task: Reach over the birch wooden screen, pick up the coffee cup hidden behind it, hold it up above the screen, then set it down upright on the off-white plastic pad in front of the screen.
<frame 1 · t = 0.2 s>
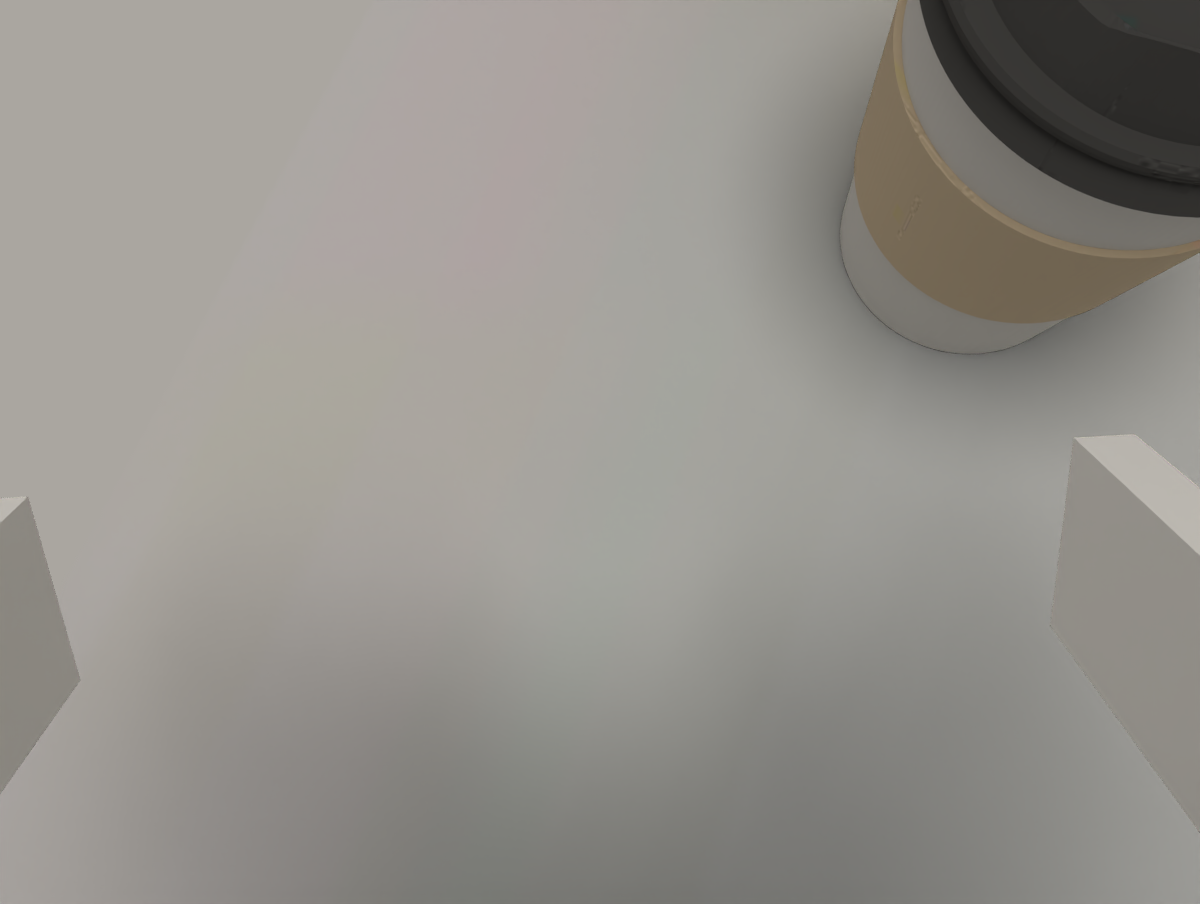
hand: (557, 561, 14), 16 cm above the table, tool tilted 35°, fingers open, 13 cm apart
coffee cup: (960, 242, 32), on the table
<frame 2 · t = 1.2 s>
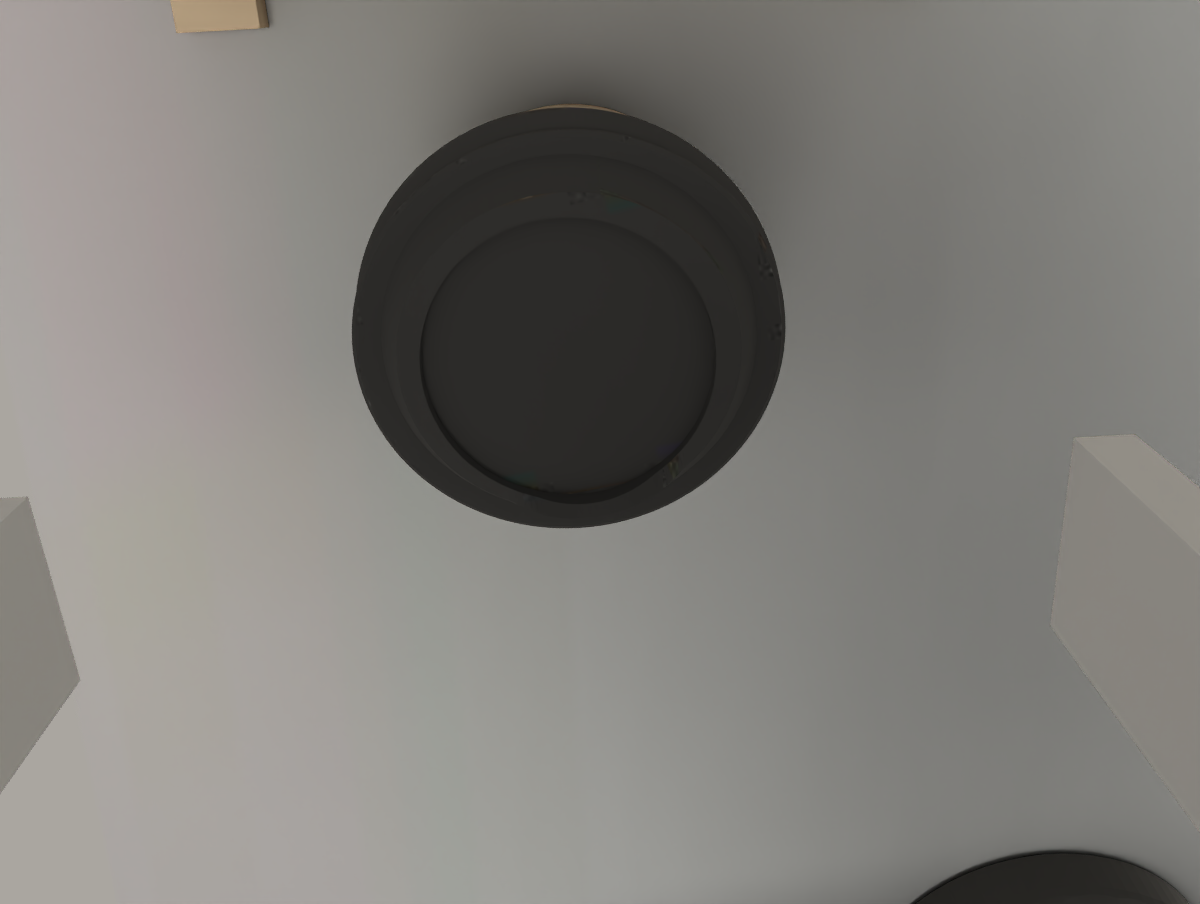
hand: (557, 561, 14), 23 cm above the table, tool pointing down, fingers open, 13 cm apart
coffee cup: (573, 214, 35), on the table
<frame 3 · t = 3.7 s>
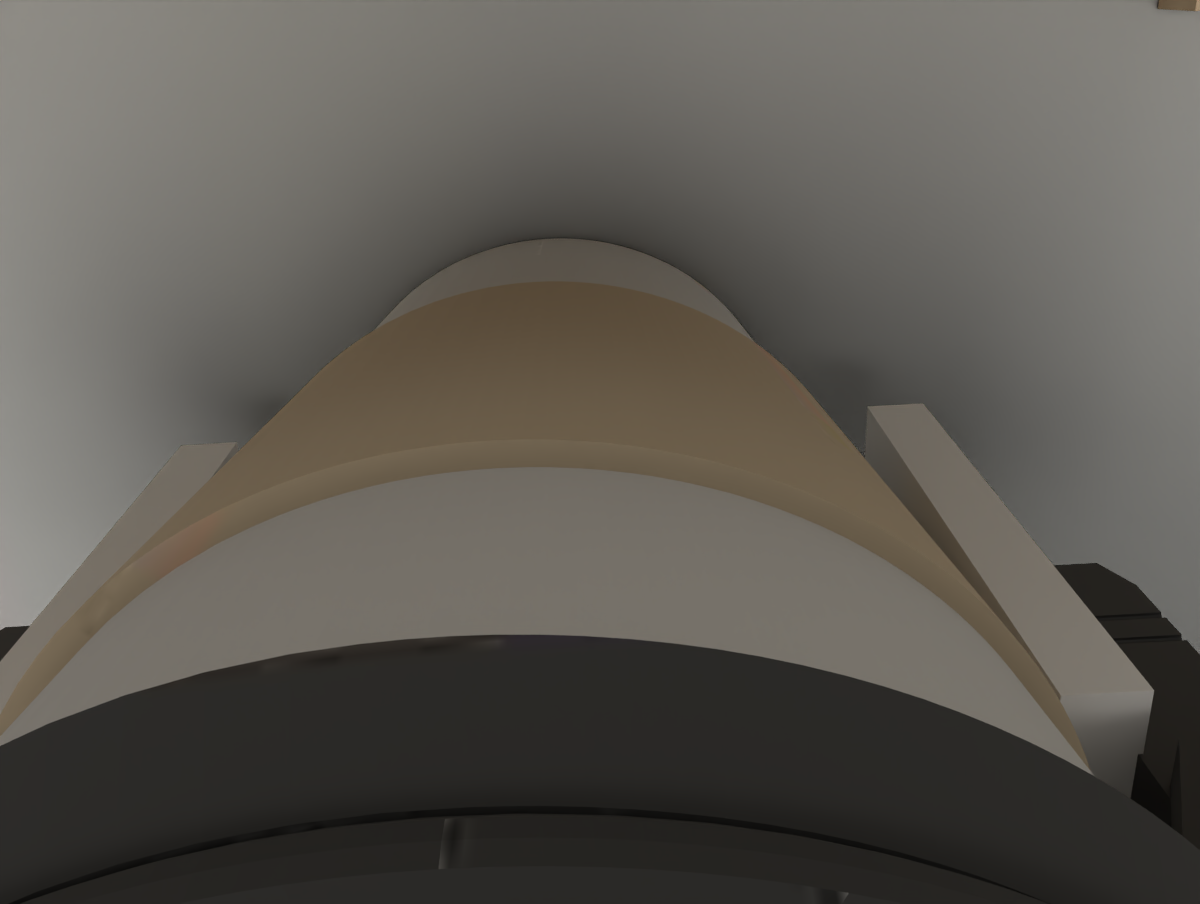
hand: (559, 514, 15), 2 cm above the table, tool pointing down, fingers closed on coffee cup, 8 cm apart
coffee cup: (561, 442, 18), on the table, touching gripper
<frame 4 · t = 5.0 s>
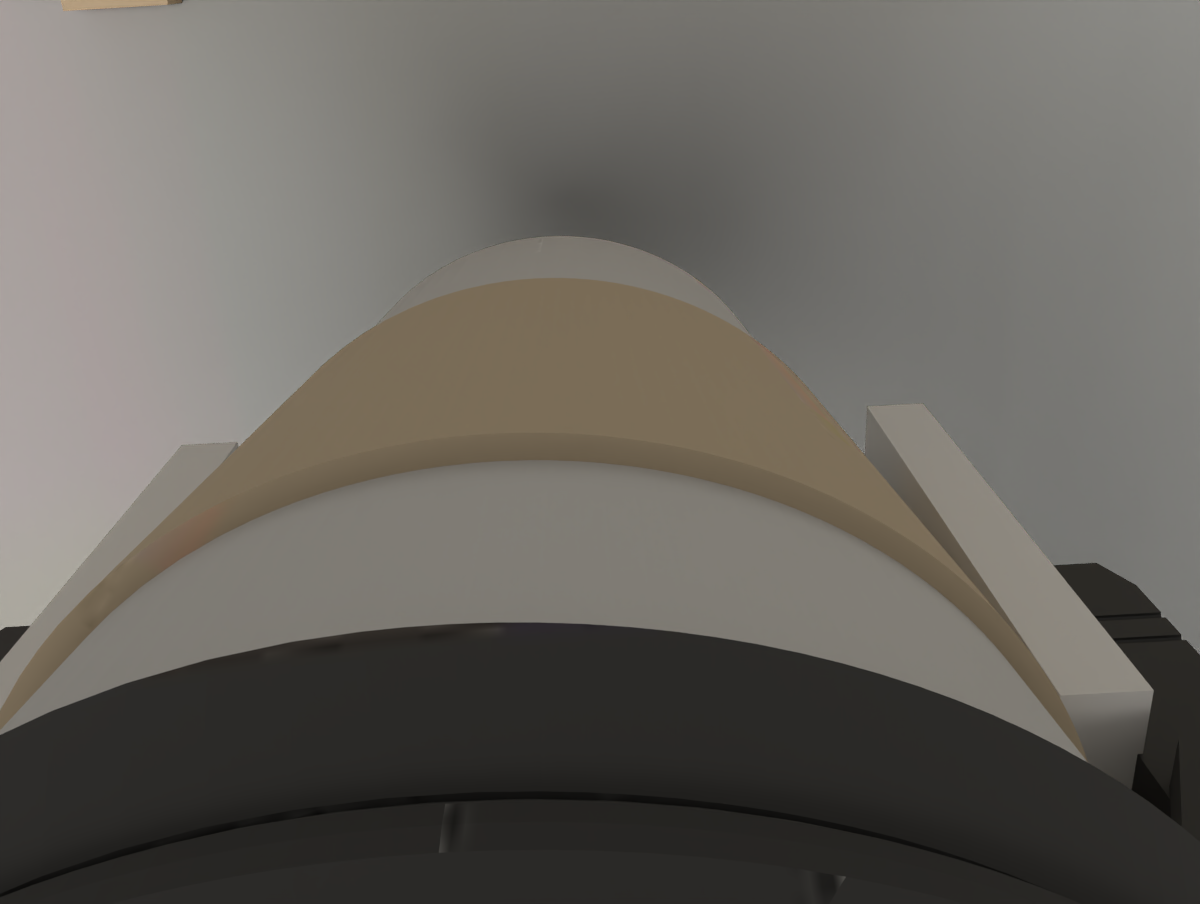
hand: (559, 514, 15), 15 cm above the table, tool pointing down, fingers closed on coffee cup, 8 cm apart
coffee cup: (561, 440, 18), point 12 cm above the table, touching gripper
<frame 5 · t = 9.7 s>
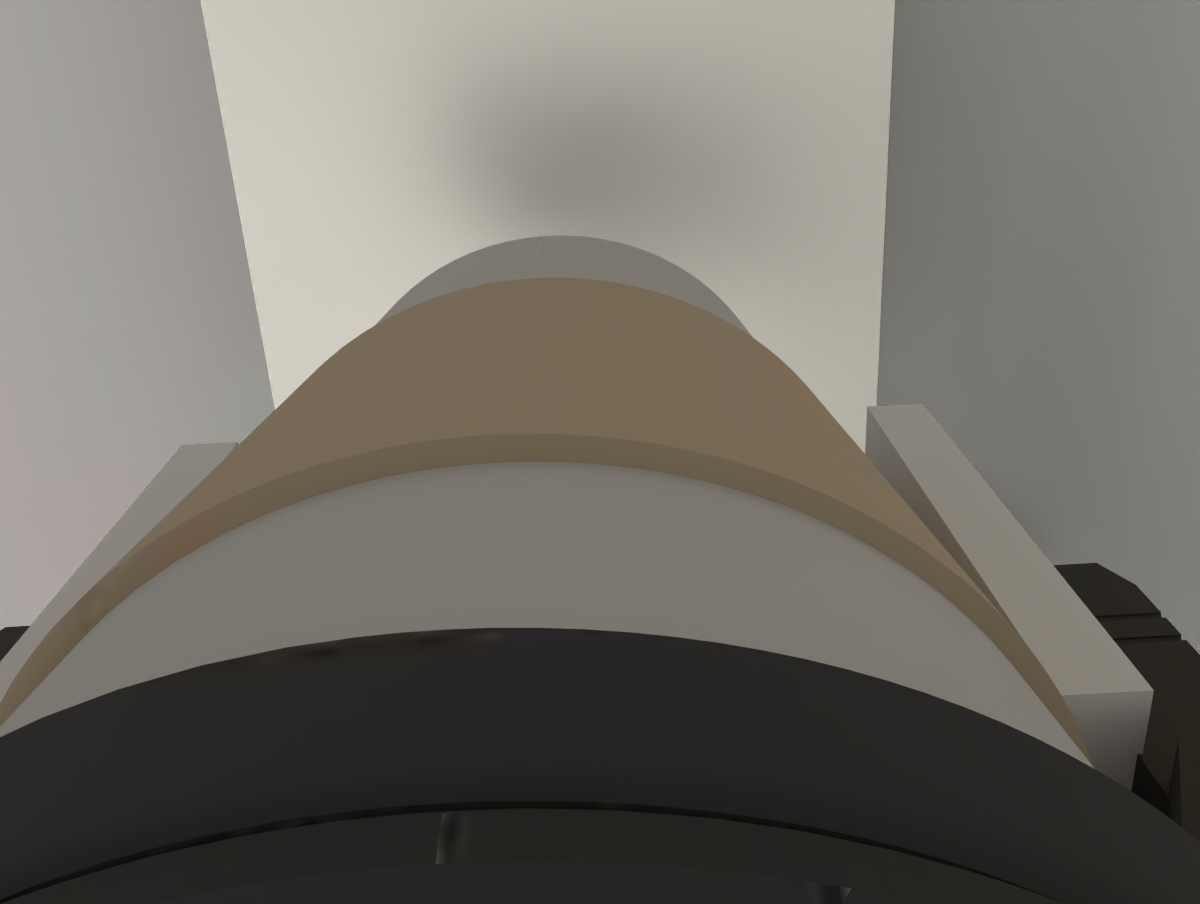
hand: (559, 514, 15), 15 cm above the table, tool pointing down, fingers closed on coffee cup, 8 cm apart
coffee cup: (561, 440, 18), point 12 cm above the table, touching gripper
display pad: (568, 268, 29), on the table
when the fingers open (5 cm above the table, at t = 11.9 s): coffee cup drops 2 cm, resting on display pad.
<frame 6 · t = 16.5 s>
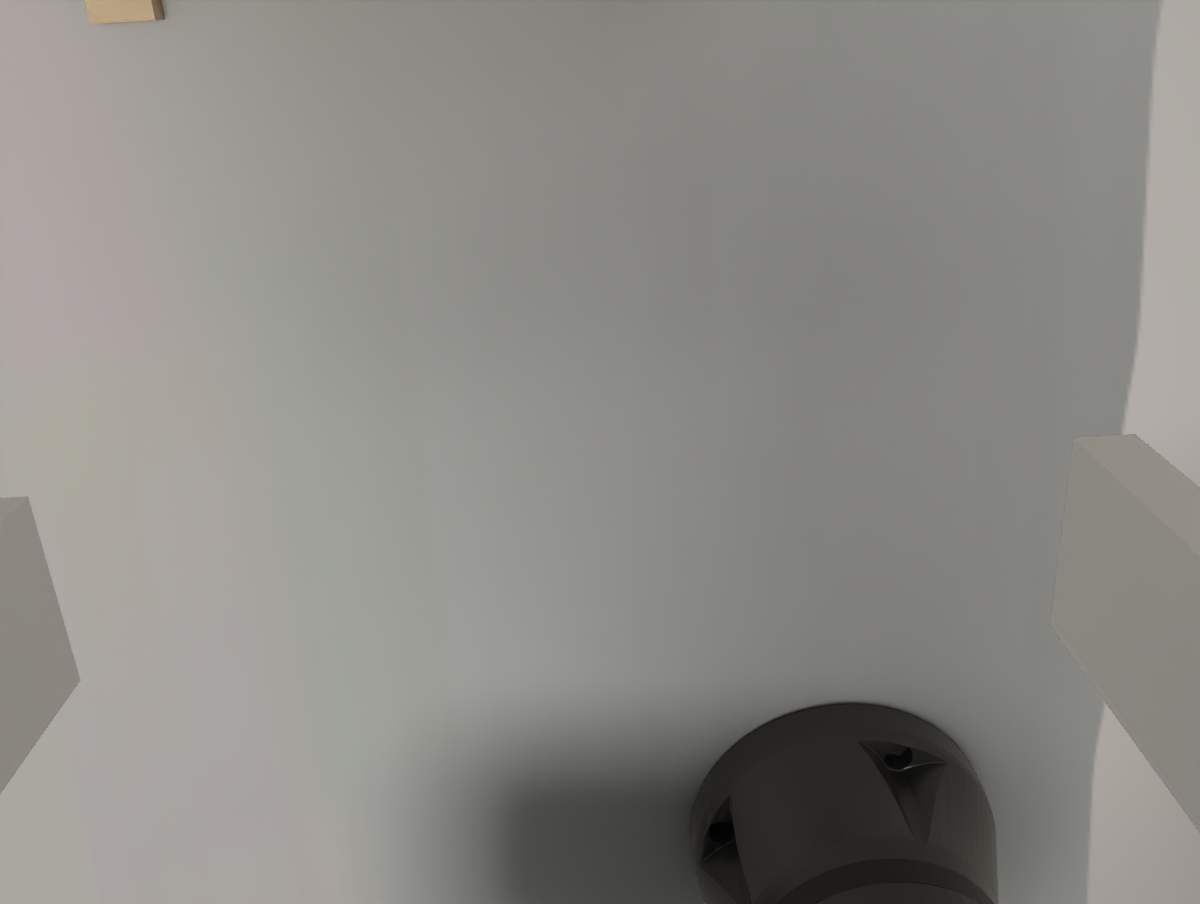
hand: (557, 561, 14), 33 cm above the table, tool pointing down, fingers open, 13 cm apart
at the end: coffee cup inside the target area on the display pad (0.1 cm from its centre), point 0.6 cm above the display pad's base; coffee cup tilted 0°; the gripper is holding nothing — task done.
